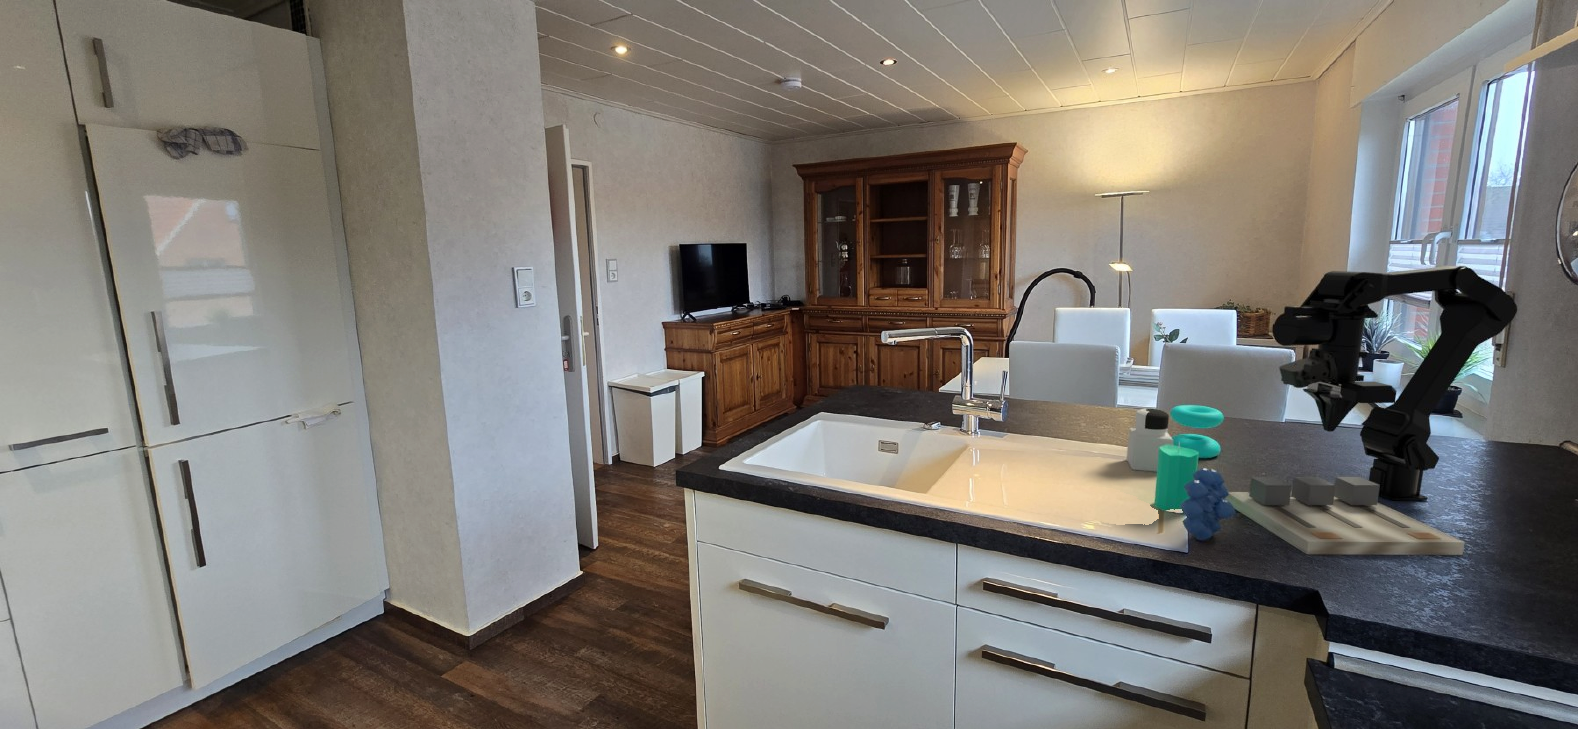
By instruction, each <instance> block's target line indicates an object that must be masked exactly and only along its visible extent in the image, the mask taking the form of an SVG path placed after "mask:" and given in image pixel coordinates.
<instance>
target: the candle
mask: <svg viewBox="0 0 1578 729" xmlns="http://www.w3.org/2000/svg"><path fill="white" fill-rule="evenodd" d="M1198 457H1199V452H1197V451H1196V450H1192V449H1187V448H1183V447H1180V442H1179V446H1174V445H1169V444H1167V445H1163V446H1161V447H1160V448H1159V455H1158V467H1157V472H1156V481H1155V482H1156V483H1155V494H1154V506H1155V507H1156V508H1157V509H1158V510H1162V511H1164V512H1167V511H1166V510H1170V509H1174V510H1175V509H1181V506H1180V505H1181V504H1182V503H1183V502H1184V501H1185V500H1188V499H1189V498H1190V497H1189V495H1188V494H1187V492H1186V490H1185V488H1184V486H1185V485H1186V484H1187V483H1188V482H1190V481H1192V480H1194V478H1193V474H1194V473H1195V472H1196V471H1197V470H1198V464H1199V458H1198Z"/></svg>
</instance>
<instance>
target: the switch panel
mask: <svg viewBox="0 0 1578 729" xmlns="http://www.w3.org/2000/svg"><path fill="white" fill-rule="evenodd" d="M1228 493H1229V495H1228V496H1227V497H1225V500H1227V501H1229V502H1230V503H1231V504H1232V506H1233V507H1234V509H1235V511H1238V512H1239V513H1241V514H1242V515H1244V516H1245V517H1247V518H1249V519H1251V520H1252V521H1254V522H1255V523H1256V524H1258V525H1260V526H1262V527H1263V528H1265V529H1266V530H1267V531H1269V532H1270V533H1272V534H1274V535H1276V536H1277V537H1279V538H1280V539H1282V540H1284V541H1285V542H1287V543H1288V544H1290V545H1291V546H1292V547H1295V548H1296V549H1298V550H1299V551H1301V552H1303V553H1304V554H1306V555H1367V556H1368V555H1369V556H1371V555H1373V556H1374V555H1378V556H1379V555H1386V556H1387V555H1388V556H1389V555H1391V556H1393V555H1395V556H1396V555H1397V556H1398V555H1399V556H1400V555H1401V556H1404V555H1405V556H1408V555H1409V556H1410V555H1411V556H1412V555H1414V556H1417V555H1418V556H1420V555H1422V556H1429V555H1430V556H1463V554H1464V549H1465V545H1466V542H1465V541H1463V540H1461V539H1459V538H1457V537H1455V536H1452V535H1450V534H1448V533H1446V532H1443V531H1441V530H1439V529H1437V528H1434V527H1432V526H1430V525H1428V524H1426V523H1424V522H1421V521H1419V520H1418V519H1415V518H1413V517H1411V516H1409V515H1406V514H1404V513H1402V512H1400V511H1398V510H1395V509H1393V508H1391V507H1389V506H1388V505H1384V504H1382V503H1380V502H1377V505H1350V504H1348V503H1346V502H1344V501H1342V500H1340V499H1338V498H1336V497H1334V501H1333V505H1307V504H1305V503H1303V502H1301V501H1299V500H1297V499H1295V498H1293V497H1292V496H1291V495H1290V503H1289V505H1263V504H1262V503H1260V502H1258V501H1256V500H1255V499H1253V498H1251V497H1250V496H1249V493H1250V491H1228ZM1291 493H1292V491H1291Z"/></svg>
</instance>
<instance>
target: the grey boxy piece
mask: <svg viewBox="0 0 1578 729" xmlns="http://www.w3.org/2000/svg"><path fill="white" fill-rule="evenodd" d="M1334 482H1335V483H1334V485H1336V486H1335V494H1334V497H1336V498H1338V499H1340V500H1342V501H1344V502H1346V503H1348V504H1350V505H1377V502H1378V500H1379V496H1380V495H1379V488H1380V485H1378V484H1376V483H1373V482H1371V481H1369V479H1366V478H1364V477H1361V476H1335V481H1334ZM1378 503H1379V502H1378Z"/></svg>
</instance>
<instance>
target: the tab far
mask: <svg viewBox="0 0 1578 729" xmlns="http://www.w3.org/2000/svg"><path fill="white" fill-rule="evenodd" d="M1292 485H1293V484H1290V483H1289V482H1286V481H1284V480H1282V479H1280V478H1278V477H1276V476H1251V477H1250V486H1249V492H1250V493H1249V496H1250V497H1251V498H1253V499H1255V500H1256V501H1258V502H1260V503H1262V504H1263V505H1289V503H1290V495H1291V492H1292Z"/></svg>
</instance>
